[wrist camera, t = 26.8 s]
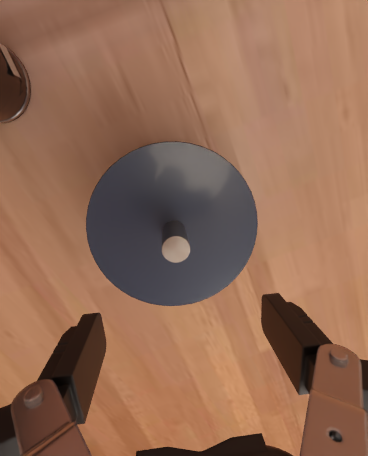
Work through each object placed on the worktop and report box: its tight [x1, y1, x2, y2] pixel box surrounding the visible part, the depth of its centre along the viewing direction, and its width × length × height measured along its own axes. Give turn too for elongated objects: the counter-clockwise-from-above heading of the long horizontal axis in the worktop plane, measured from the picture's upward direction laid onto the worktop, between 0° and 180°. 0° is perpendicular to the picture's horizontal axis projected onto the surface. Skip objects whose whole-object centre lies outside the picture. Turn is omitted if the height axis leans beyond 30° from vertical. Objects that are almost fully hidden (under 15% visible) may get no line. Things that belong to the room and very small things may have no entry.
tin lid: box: [86, 142, 258, 306], centre depth 24 cm, size 18×18×6 cm
